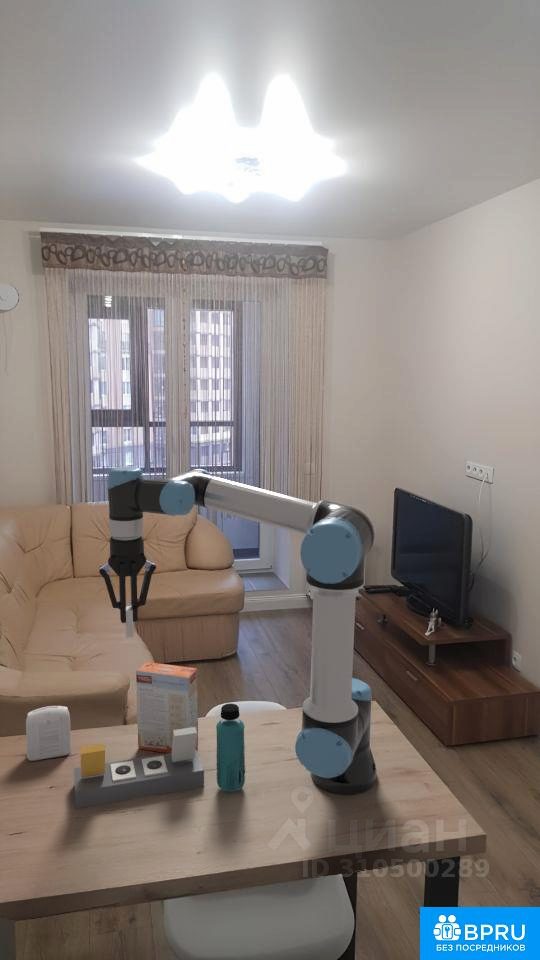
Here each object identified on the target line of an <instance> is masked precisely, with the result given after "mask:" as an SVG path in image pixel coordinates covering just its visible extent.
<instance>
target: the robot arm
mask: <svg viewBox="0 0 540 960" xmlns="http://www.w3.org/2000/svg"><path fill="white" fill-rule="evenodd" d="M106 488H107V498H108V512H109V513H108V521H109V522H108V524H109V525H108V527H109V529H108V530H109V533H108V534H109V536H111V537H109V557H108V561H107V563H105V564H104V565H100V566H99V567H98V572H99V574H100V576H101V577H102V578H103V579H104V583H105V585H106V590H107V592H108V595H109V599H110V602H111V606H112V608H113V609H119V618H120V619H119V620H120V622H121V624H124V625H125V635H126V638H134V623H136V622H138V619H139V618H138V617H139V615H138V614H139V613H138V610H139V608H140V607H141V606H142V607H143V606H145V605H146V602H147V598H148V593H149V589H150V585H151V581H152V576H153V574H154V573H155V570H156V569H157V565H156V563H155V562H154V561H149V560H147V557H146V555H145V542H144V541H145V540H144V539H145V538H144V536H143V534H144V513H150V514H157V515H158V514H159V515H165V516H166V515H168V516H170V517H171V516H172V517H176V516H187V515H188V514H190V513H191V510H192V509H193V508H194V505H195V506H199V507H201V508H206V509H209V510H214V511H218V512H220V513H224V514H228V515H232V516H235V517H238V518H242V519H246V520H249V521H253V522H255V523H259V524H264V525H267V526H271V527H275V528H277V529H282V530H285V531H288V532H291V533H292V532H293V533H296V534H299V535H303V536H304V537H303V539H302V541H301V545H300V552H299V553H300V559H301V563H302V566H303V568H304V570H305V571H306V574H305V576H306V577H305V580H306V584H307V586H308V587H310V588H311V589H312V591H313V593H312V594H313V595H312V618H311V619H312V625H311V627H312V629H311V654H310V656H311V657H310V660H311V662H310V688H309V689H310V690H309V691H310V693H309V696H308V697H307V698H306V699H305V700H304V701H303V703H302V714H301V715H302V717H301V720H302V721H301V731H300V732H299V733H298V735H297V737H296V741H295V747H294V749H295V754H296V757H297V759H298V761H299V762H300V764H301V765H302V766H303V767H305V770H307V771H308V772H310V776H311V778H312V781H313V782H314V783H315V784H316V785H317V786H318V787H319V788H321V789H323V790H325V791H327V792H330V793H333V794H339V795H355V794H361V793H364V792H366V791H368V790H369V789H371V788H372V787H373V786H374V785H375V784H376V781H377V765H376V762H375V759H374V756H373V752H372V748H371V746H370V745H371V742H370V741H371V721H372V720H371V719H372V716H371V715H372V701H373V697H372V688H371V686H370V685H369V684H368V683H366V682H364V681H363V680H360V679H357V678H355V677H353V668H354V666H353V665H354V646H355V645H354V643H355V642H354V639H355V622H356V621H355V618H356V594H357V592H358V591H359V590H361V589H362V587H363V586H364V584H365V566H366V565H365V561H366V556H368V554H369V553H370V551H371V549H372V548H373V545H374V543H375V529H374V525H373V523H372V522H371V520H370V518H369V517H368V516H367V515H366V514H365V513H364V512H363V511H361V510H360V509H358V508H355V507H352V506H348V505H345V504H340V503H337V502H332V501H329V500H324V499H321V500H320V501H318V502H314V501H310V500H307V499H306V500H305V499H302V498H298V497H294V496H290V495H286V494H282V493H278V492H275V491H271V490H267V489H263V488H259V487H255V486H251V485H247V484H245V483H244V484H243V483H240V482H236V481H232V480H228V479H225V478H221V477H217V476H214V475H212V474H211V473H210V472H209V471H208V470H206V469H202V468H197V469H196V468H194V469H189V470H187V471H185V472H182V473H178V474H177V475H173V476H170V477H167V478H162V479H159V478H147V477H144V475H143V470H142V469H141V468H140V467H136V466H118V467H113V468H111V469H110V470H109V471H108V474H107V487H106ZM143 568H144V570H145V572H144V575H143V581H142V585H141V589H140V594H139V597H138V575H139V574H140V572H141V570H142V569H143ZM111 569H112V570H113V572H114V573H115V574H116V575H117V576H118V589H119V591H118V592H119V600H117V596H116V595H115V591H114V587H113V583H112V580H111V576H110V574H111ZM127 577H130V578H129V579H130V580H129V581H130V605H129V606H128V605H127V596H126V595H127V593H126V578H127Z"/></svg>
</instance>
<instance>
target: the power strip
mask: <svg viewBox="0 0 540 960" xmlns="http://www.w3.org/2000/svg"><path fill="white" fill-rule="evenodd" d="M73 777H74V778H73V780H74V781H73V782H74V799H75V809H81V808H87V807H93V805H94V806H99V805H98V804H100V805H104V803H106V804H109V802H111V803H117V802H122V801H127V800H132V799H133V798H134V799H138V798H139V797H140V798H144V797H146V798H147V797H151V796H156V795H162V794H163V795H164V794H168V793H174V792H179V791H185V790H191V789H196V788H202V787H205V769H204V766H203V765H202V761H201V759H200V756H199V752H198V750H197V748H196V749H195V757H194V759H193V760H188V761H181V762H175V763H172V753H162V754H155V755H149V756H143V757H136V758H130V759H124V760H123V759H122V760H118V761H111V762H105V774H101V775H95V776H89V777H83V778H82V776H81V766H79V767H73ZM116 801H117V802H116Z"/></svg>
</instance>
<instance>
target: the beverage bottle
mask: <svg viewBox="0 0 540 960" xmlns="http://www.w3.org/2000/svg"><path fill="white" fill-rule="evenodd" d="M220 709H221V710H220V718H221V719H220V720H219V721H218V722H217V723H216V729H215V730H216V767H215V768H216V772H215V773H216V784H217V786H218V788H219V789H220V790H222V791H224V792H235V791H238V790H241V789H242V788H243V787H245V786H244V785H245V781H246V775H245V774H246V763H245V762H246V760H245V759H246V754H245V749H246V748H245V723H244V721H242V720H241V719H240V707H239V705H237V704H236V703H225V704H224V705H222V706H221V708H220Z"/></svg>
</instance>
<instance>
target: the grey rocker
mask: <svg viewBox="0 0 540 960" xmlns="http://www.w3.org/2000/svg"><path fill="white" fill-rule="evenodd" d="M196 736H197V731H196V727H191V728H185V729H178V730H173V742H172V763H175V762H181V761H188V760H193V759H194V757H195V746H196Z"/></svg>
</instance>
